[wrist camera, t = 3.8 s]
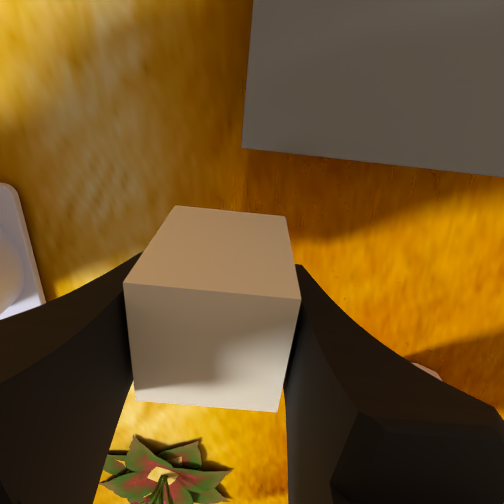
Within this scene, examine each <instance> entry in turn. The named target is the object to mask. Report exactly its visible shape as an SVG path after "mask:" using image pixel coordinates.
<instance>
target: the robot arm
mask: <svg viewBox="0 0 504 504" xmlns="http://www.w3.org/2000/svg"><path fill="white" fill-rule="evenodd" d="M143 252H144V251H143ZM143 252H141V253H139V254H137V255H136V256H134V257H132V258H131V259H129V260H127V261H126V262H124V263H123V264H121V265H119V266H118V267H116V268H114V269H113V270H111V271H109V272H107V273H106V274H104V275H102V276H100V277H99V278H97V279H95V280H93V281H91V282H89V283H87V284H85V285H84V286H82V287H80V288H78V289H76V290H74V291H72V292H70V293H68V294H66V295H63V296H61V297H59V298H57V299H54V300H52V301H50V302H47V303H46V301H45V297H44V293H43V289H42V285H41V281H40V277H39V273H38V269H37V266H36V262H35V258H34V254H33V250H32V246H31V242H30V238H29V234H28V230H27V226H26V223H25V219H24V215H23V211H22V207H21V203H20V199H19V195H18V193H17V191H16V190H15V189H14V187H12V186H11V185H9V184H6V183H0V504H93V501H94V498H95V494H96V491H97V488H98V484H99V481H100V478H101V474H102V471H103V468H104V464H105V461H106V458H107V455H108V452H109V448H110V445H111V442H112V439H113V436H114V433H115V430H116V427H117V424H118V421H119V418H120V415H121V412H122V409H123V406H124V403H125V400H126V397H127V394H128V392H129V389H130V387H131V384H132V382H133V371H132V362H131V353H130V344H129V334H128V325H127V316H126V307H125V298H124V289H123V281H124V280H125V279H126V277H127V276H128V274H129V273H130V271H131V270H132V268H133V267H134V265H135V264H136V262H137V261H138V259H139V258H140V256H141V255H142V253H143ZM295 269H296V274H297V279H298V284H299V289H300V294H301V304H300V308H299V313H298V318H297V322H296V327H295V331H294V336H293V341H292V345H291V350H290V355H289V359H288V364H287V368H286V373H285V378H284V382H283V389H284V397H285V407H286V429H287V458H288V501H289V504H504V420H503V419H502V417H501V416H500V415H499V413H498V412H497V411H496V409H495V408H494V407H492V406H490V405H488V404H486V403H484V402H482V401H480V400H478V399H476V398H474V397H472V396H470V395H468V394H466V393H464V392H462V391H460V390H458V389H456V388H454V387H452V386H450V385H448V384H447V383H445V382H443V381H441V380H439V379H438V378H436V377H434V376H432V375H431V374H429V373H427V372H425V371H424V370H422V369H420V368H419V367H417V366H415V365H414V364H412V363H411V362H409V361H407V360H406V359H404V358H403V357H401V356H400V355H398V354H397V353H395V352H394V351H392V350H391V349H389V348H388V347H387V346H385V345H384V344H382V343H381V342H380V341H378V340H377V339H375V338H374V337H373V336H372V335H370V334H369V333H368V332H367V331H365V330H364V329H363V328H362V327H361V326H359V325H358V324H357V323H356V322H355V321H353V320H352V319H351V318H350V317H349V316H348V315H347V314H346V313H345V312H344V311H343V310H342V309H341V308H340V307H339V306H338V305H337V304H336V303H335V302H334V301H333V300H332V299H331V298H330V297H329V296H328V295H327V294H326V293H325V292H324V291H323V289H322V288H321V287H320V286H319V285H318V284H317V282H316V281H315V280H314V279H313V278H312V277H311V275H310V274H309V273H308V272H307V271H306V269H305V268H304V267H303V266H302V265H298V264H295Z"/></svg>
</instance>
